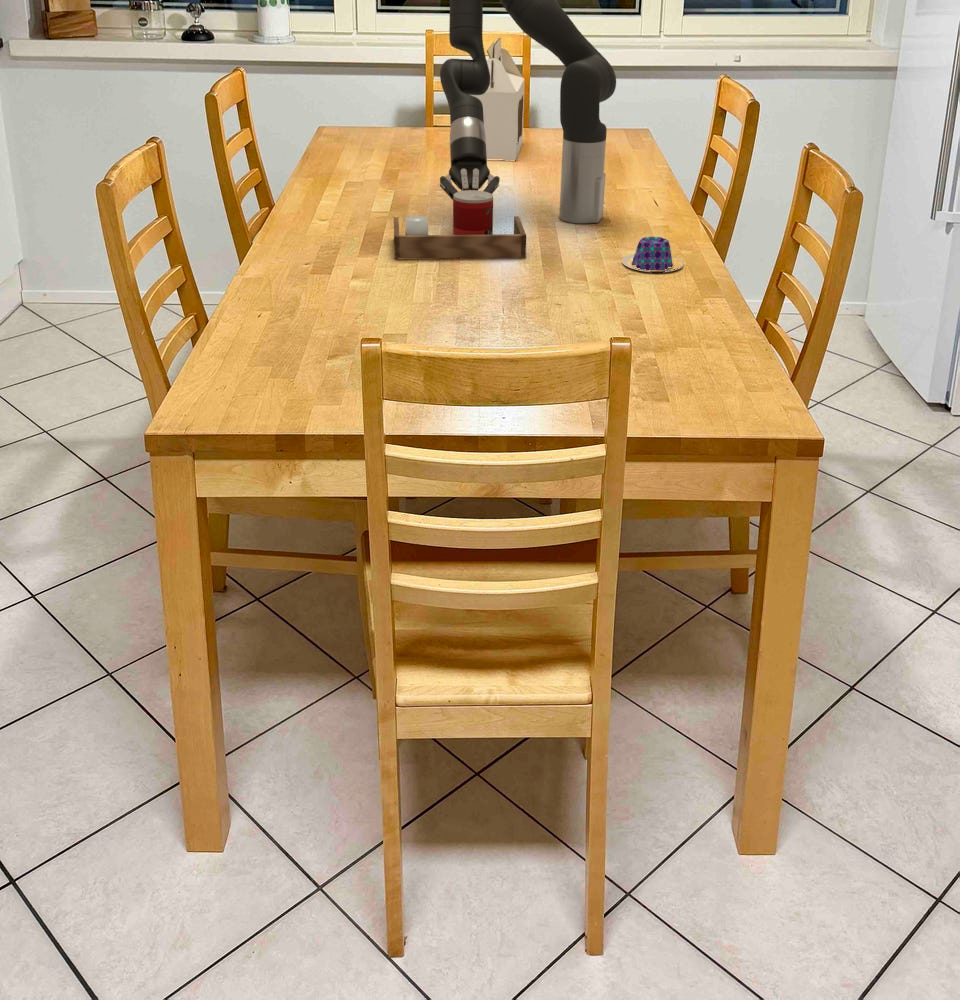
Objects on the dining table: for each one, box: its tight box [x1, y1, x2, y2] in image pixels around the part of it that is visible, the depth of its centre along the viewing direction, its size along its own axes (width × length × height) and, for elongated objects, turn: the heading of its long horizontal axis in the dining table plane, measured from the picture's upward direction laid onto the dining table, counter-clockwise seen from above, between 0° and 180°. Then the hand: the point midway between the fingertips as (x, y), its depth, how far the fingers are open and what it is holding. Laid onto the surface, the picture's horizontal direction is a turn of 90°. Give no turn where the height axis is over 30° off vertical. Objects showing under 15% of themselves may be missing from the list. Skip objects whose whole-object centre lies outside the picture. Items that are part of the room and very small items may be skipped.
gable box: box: [471, 37, 526, 161], centre depth 304 cm, size 22×13×28 cm, turn 173°
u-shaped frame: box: [393, 215, 527, 259], centre depth 233 cm, size 26×14×4 cm, turn 94°
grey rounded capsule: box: [404, 214, 429, 235], centre depth 229 cm, size 5×5×7 cm
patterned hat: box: [621, 236, 684, 273], centre depth 225 cm, size 12×12×5 cm
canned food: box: [452, 190, 494, 235], centre depth 231 cm, size 8×8×11 cm
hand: (471, 219), depth 235 cm, fingers closed
